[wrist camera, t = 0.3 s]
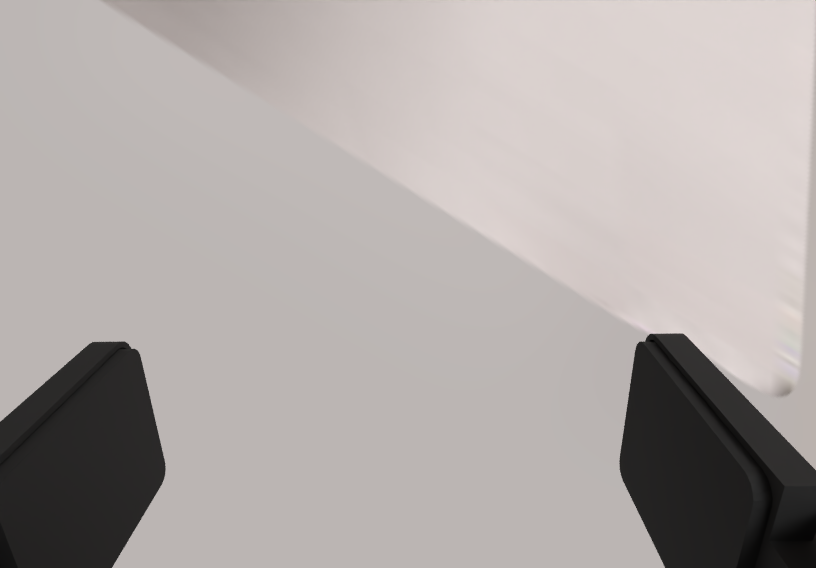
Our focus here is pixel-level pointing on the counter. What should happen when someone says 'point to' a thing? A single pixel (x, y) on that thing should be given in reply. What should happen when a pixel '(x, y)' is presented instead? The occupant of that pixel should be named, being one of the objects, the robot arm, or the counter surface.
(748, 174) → the counter surface
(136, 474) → the robot arm
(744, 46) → the counter surface
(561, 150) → the counter surface
